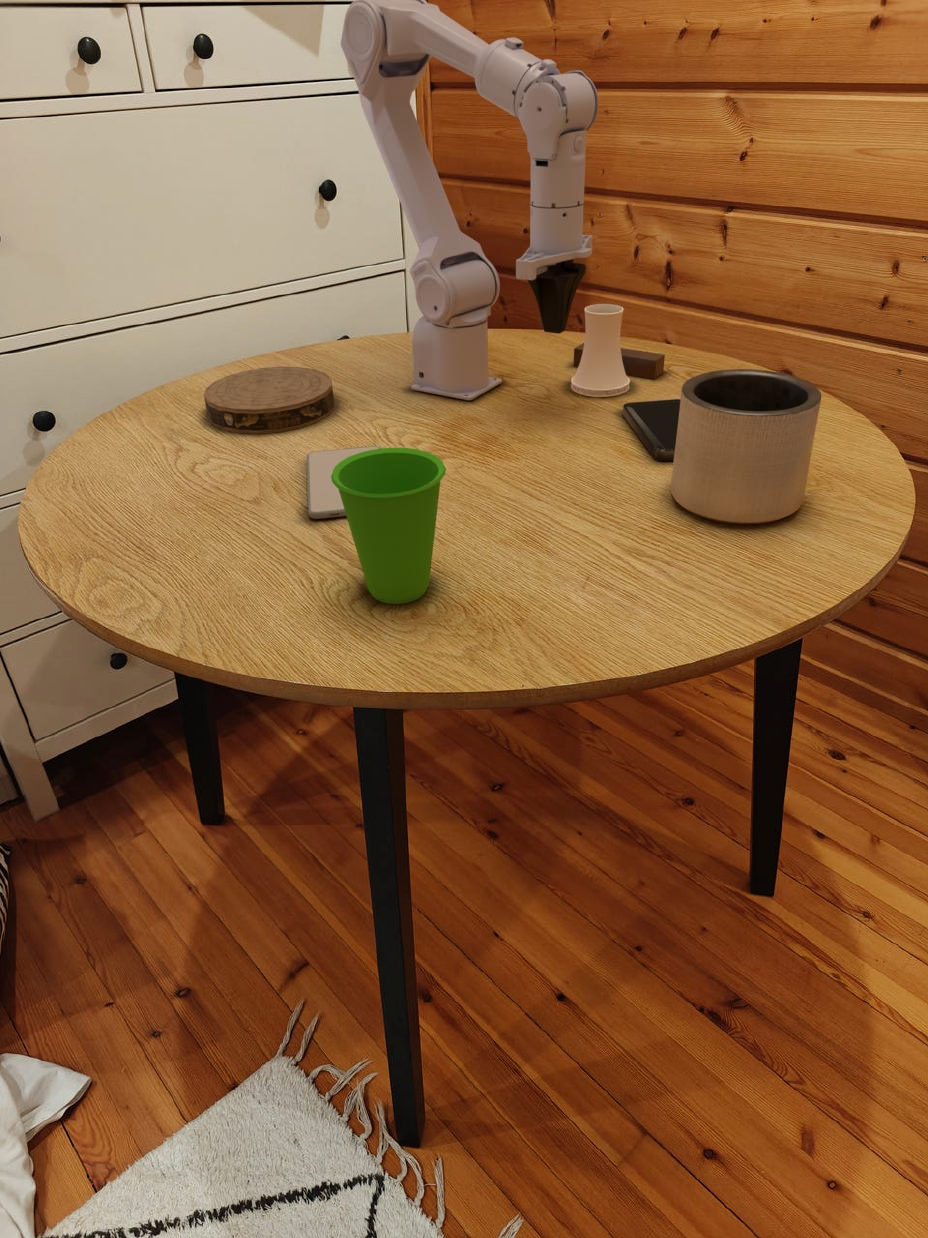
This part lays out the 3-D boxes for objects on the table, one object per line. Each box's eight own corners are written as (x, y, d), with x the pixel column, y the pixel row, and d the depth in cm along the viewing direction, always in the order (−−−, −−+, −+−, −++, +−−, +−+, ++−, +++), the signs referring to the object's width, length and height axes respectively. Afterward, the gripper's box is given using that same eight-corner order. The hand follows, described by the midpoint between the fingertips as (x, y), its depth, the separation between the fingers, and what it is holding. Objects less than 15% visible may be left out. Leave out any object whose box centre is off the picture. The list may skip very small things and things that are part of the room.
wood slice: (357, 412, 113) (355, 388, 111) (238, 444, 105) (233, 419, 104) (301, 380, 124) (298, 358, 122) (189, 407, 116) (184, 384, 115)
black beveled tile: (656, 451, 96) (621, 402, 109) (655, 461, 97) (620, 411, 109) (728, 446, 97) (685, 397, 109) (727, 455, 97) (684, 406, 110)
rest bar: (573, 366, 125) (573, 348, 123) (583, 360, 127) (583, 342, 125) (654, 379, 119) (656, 360, 118) (663, 372, 121) (665, 354, 120)
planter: (826, 521, 84) (850, 406, 78) (698, 536, 83) (712, 420, 77) (767, 468, 95) (783, 362, 88) (652, 480, 93) (661, 374, 87)
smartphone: (307, 513, 88) (306, 451, 100) (309, 522, 88) (307, 459, 100) (393, 505, 88) (381, 444, 101) (394, 514, 89) (381, 452, 101)
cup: (347, 566, 81) (332, 450, 74) (448, 558, 81) (442, 443, 75) (344, 621, 73) (328, 498, 67) (455, 613, 73) (449, 489, 67)
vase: (612, 401, 113) (617, 319, 107) (560, 391, 117) (562, 312, 111) (639, 383, 118) (645, 305, 112) (588, 374, 122) (591, 298, 116)
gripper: (559, 217, 90) (556, 353, 98) (619, 195, 100) (612, 319, 108) (498, 213, 93) (500, 344, 101) (562, 191, 103) (559, 312, 111)
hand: (554, 331), depth 105 cm, fingers closed
